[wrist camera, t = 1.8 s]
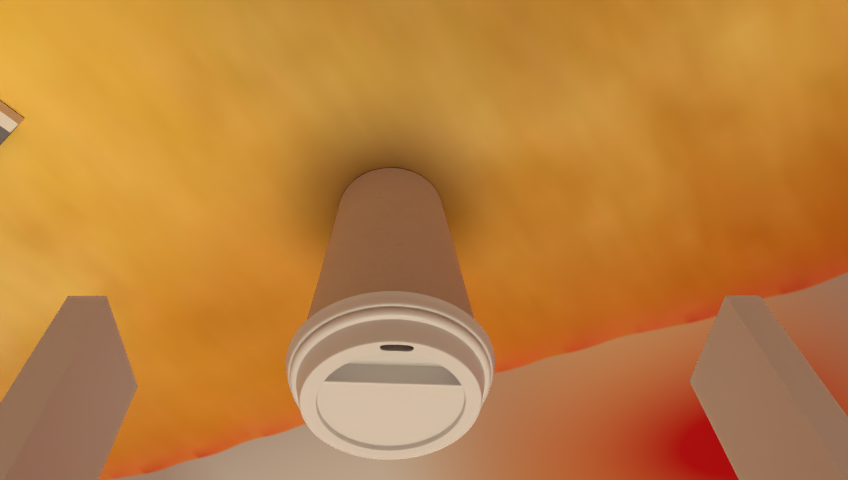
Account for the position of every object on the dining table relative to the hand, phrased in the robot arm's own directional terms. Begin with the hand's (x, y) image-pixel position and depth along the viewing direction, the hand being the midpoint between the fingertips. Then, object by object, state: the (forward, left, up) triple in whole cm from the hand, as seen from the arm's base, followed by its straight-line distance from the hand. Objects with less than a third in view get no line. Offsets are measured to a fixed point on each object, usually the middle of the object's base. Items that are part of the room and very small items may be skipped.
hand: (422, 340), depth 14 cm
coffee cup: (+8, -8, -23) cm, 26 cm away
